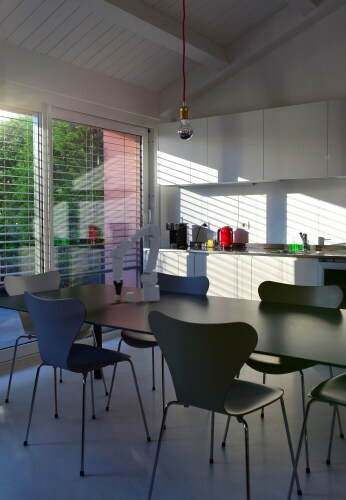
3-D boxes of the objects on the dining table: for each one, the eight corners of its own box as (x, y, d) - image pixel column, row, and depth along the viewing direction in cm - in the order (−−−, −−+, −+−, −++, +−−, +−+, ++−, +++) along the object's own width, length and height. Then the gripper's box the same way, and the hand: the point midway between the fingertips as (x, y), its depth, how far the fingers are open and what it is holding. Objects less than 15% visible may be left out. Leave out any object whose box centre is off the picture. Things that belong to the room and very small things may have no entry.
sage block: (132, 300, 301) (132, 292, 300) (134, 301, 297) (134, 292, 297) (126, 301, 299) (125, 292, 299) (128, 302, 296) (128, 293, 295)
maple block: (121, 302, 295) (121, 291, 298) (122, 299, 291) (121, 288, 294) (114, 302, 294) (114, 291, 297) (114, 299, 291) (114, 288, 294)
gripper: (110, 268, 294) (111, 292, 295) (110, 271, 280) (111, 296, 281) (122, 268, 295) (123, 291, 296) (123, 270, 281) (124, 295, 282)
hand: (118, 293), depth 289 cm, fingers open, 7 cm apart
